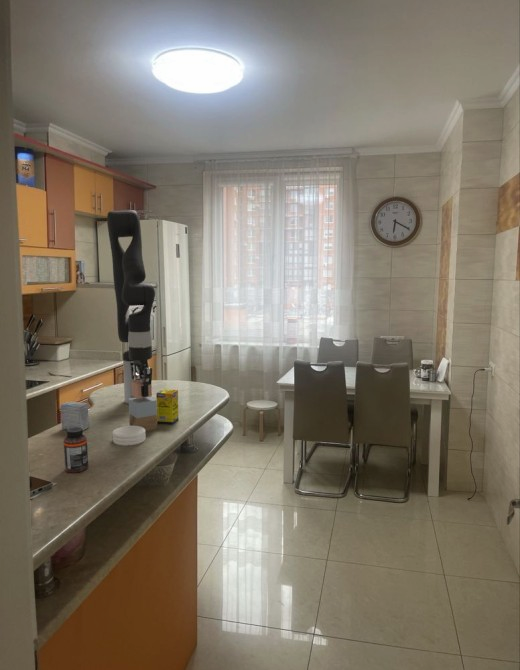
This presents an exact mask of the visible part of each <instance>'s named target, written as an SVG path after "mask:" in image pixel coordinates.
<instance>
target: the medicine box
mask: <svg viewBox="0 0 520 670" xmlns="http://www.w3.org/2000/svg"><path fill="white" fill-rule="evenodd" d="M60 416H61V429H62V430H65V429H69V428H73V427H81V428H82V430H83V432H84V431H86V430H87V428H88V429H89V428H90V416H89V404H88V403H86V402H77V401H67V402H64V403H62V404H60ZM85 429H86V430H85Z"/></svg>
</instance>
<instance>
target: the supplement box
mask: <svg viewBox="0 0 520 670" xmlns="http://www.w3.org/2000/svg"><path fill="white" fill-rule="evenodd" d="M155 395H156V396H155V398H156V402H157V424H162V423H166V424H165V425H173V424H175V421H176V420H177V421H179V390H178V389H172V388H171V389H169V388H168V389H167V388H163V389H161V390H160V391H158V392H156V393H155ZM177 421H176V422H177Z"/></svg>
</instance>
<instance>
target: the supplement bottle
mask: <svg viewBox="0 0 520 670" xmlns="http://www.w3.org/2000/svg"><path fill="white" fill-rule="evenodd" d="M83 433H84V431H83V430H82V428H81V427H73V428H69V429H67V430H66V437H64V439H63V450H64V451H63V452H64V467H65V471H66V472H69V473H73V474H75V473H81V472H83V471H85V470H87V469H88V468H89V455H88V454H89V453H88V451H89V450H88V439H87V438H88V437H87V436H86V435H85V434H83Z"/></svg>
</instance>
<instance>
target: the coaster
mask: <svg viewBox="0 0 520 670" xmlns="http://www.w3.org/2000/svg"><path fill="white" fill-rule="evenodd" d="M112 438H113V439H112V443H114V444H116V445H117V446H125V447H126V446H128V445H129V446H135V445H139V444H141V443H144V441H146V439H147V438H146V431H145V429H144V428H143V427H140V426H130V425H125V426H119V427H117V428H115V429H114V430H113V431H112Z"/></svg>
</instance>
